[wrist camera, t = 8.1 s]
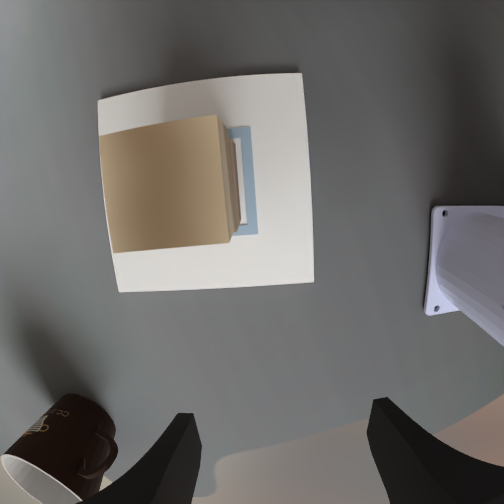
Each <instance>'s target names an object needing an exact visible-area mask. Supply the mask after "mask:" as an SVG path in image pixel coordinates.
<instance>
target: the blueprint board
mask: <svg viewBox="0 0 504 504" xmlns="http://www.w3.org/2000/svg"><path fill="white" fill-rule="evenodd" d="M210 115H218V117H219V118H220V119H221V121H222V122H223V123H224V125H225V126H226V128H227V129H228V137H230V138H231V139H232V141H233V142H234V143H235V145H236V159H237V172H238V185H239V198H240V211H241V221H240V224H239V227H238V230H237V232H233V235H232V237H231V240H230V243H224V244H212V245H201V246H189V247H178V248H167V249H156V250H145V251H134V252H123V253H113V248H112V242H111V237H110V230H109V224H108V217H107V211H106V203H105V196H104V203H105V211H106V219H107V226H108V233H109V239H110V246H111V252H112V258H113V263H114V269H115V274H116V279H117V284H118V289H119V292H140V291H168V290H191V289H212V288H230V287H248V286H264V285H279V284H293V283H307V282H314V258H313V224H312V200H311V180H310V164H309V149H308V135H307V123H306V111H305V100H304V90H303V80H302V73H281V74H260V75H245V76H233V77H223V78H214V79H205V80H198V81H191V82H184V83H177V84H171V85H166V86H160V87H155V88H150V89H145V90H140V91H135V92H130V93H126V94H122V95H118V96H113V97H109V98H105V99H102V100H98V128H99V136H102V135H106V134H110V133H114V132H119V131H123V130H128V129H133V128H137V127H142V126H147V125H153V124H158V123H164V122H169V121H175V120H182V119H188V118H195V117H202V116H210ZM99 148H100V146H99ZM100 162H101V158H100ZM101 174H102V169H101ZM102 185H103V178H102ZM103 194H104V187H103Z"/></svg>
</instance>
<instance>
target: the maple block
mask: <svg viewBox="0 0 504 504" xmlns="http://www.w3.org/2000/svg"><path fill="white" fill-rule="evenodd" d="M99 146H100V158H101V169H102V178H103V187H104V196H105V203H106V211H107V217H108V224H109V230H110V237H111V242H112V248H113V253H123V252H134V251H145V250H156V249H167V248H178V247H189V246H201V245H212V244H224V243H230V240H231V237H232V235H233V232H234V230H235V227H236V225H237V222H236V212H235V202H234V192H233V181H232V170H231V160H230V149H229V138H228V129H227V128H226V126H225V125H224V123H223V122H222V121H221V119H220V118H219V117H218V115H210V116H202V117H195V118H188V119H182V120H175V121H169V122H164V123H158V124H153V125H147V126H142V127H137V128H133V129H128V130H123V131H119V132H114V133H110V134H106V135H102V136H99Z"/></svg>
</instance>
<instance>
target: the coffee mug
mask: <svg viewBox="0 0 504 504" xmlns="http://www.w3.org/2000/svg"><path fill="white" fill-rule="evenodd" d="M115 432H116V429H115V425H114V423H113V421H112V419H111V418H110V416H109V415H108V414H107V413H106V411H104V410H103V409H102V408H101V407H100V406H99V405H97V404H96V403H95V402H93V401H91V400H90V399H87V398H85V397H83V396H80V395H76V394H67V395H64V396H63V397H62V398H61V399H60V400H58V401H57V402H56V403H55V404H54V405H53V406H52V407H51V408H50V409H49V410H48V411H47V412H46V413H45V414H44V415H43V416H42V417H41V418H40V419H39V420H38V421H37V422H36V423H35V424H34V425H33V426H32V427H30V428H29V429H28V430H27V431H26V432H25V433H24V434H23V435H22V436H21V437H20V438H19V439H18V440H17V441H16V442H15V443H14V444H13V445H12V446H11V447H10V448H9V449H8V450H7V451H6V452H5V453H4V454H3V455H2V457H1V462H2V465H3V467H4V469H5V470H6V472H7V473H8V474H9V476H10V477H11V478H12V479H13V480H14V481H15V482H16V484H18V486H20V487H21V488H22V489H23V490H24V491H25V492H26V493H28V494H29V495H30V496H31V497H33V498H34V499H36V500H37V501H38V502H40V503H42V504H76V503H78V502H80V501H83V500H85V499H87V498H89V497H90V496H92V495H94V494H96V493H98V492H99V489H100V485H101V482H102V478H103V474H104V472H105V471H107V470H108V469H109V468H110V466H111V465H112V464H113V462H114V460H115V459H116V457H117V453H118V447H117V444H116V442H115V441H114V436H115Z"/></svg>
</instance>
